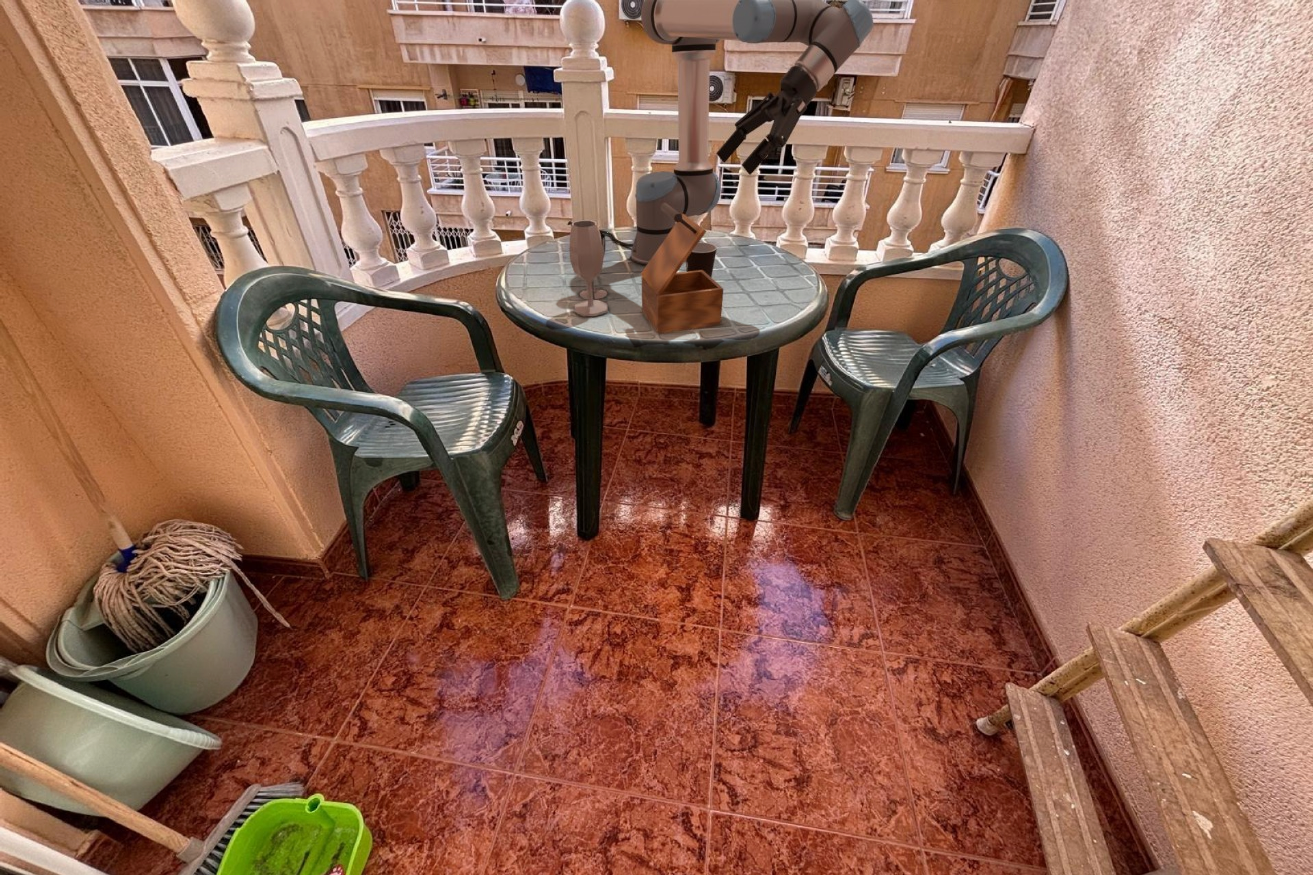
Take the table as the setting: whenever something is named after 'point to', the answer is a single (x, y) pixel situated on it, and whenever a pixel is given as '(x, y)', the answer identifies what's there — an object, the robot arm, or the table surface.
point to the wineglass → (587, 262)
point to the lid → (672, 250)
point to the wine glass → (596, 292)
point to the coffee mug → (702, 258)
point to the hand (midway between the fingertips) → (732, 164)
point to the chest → (683, 303)
